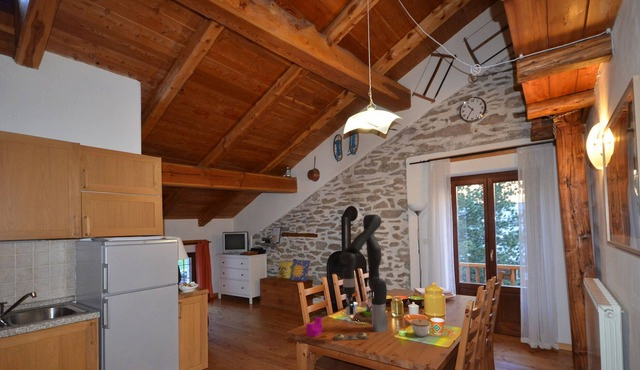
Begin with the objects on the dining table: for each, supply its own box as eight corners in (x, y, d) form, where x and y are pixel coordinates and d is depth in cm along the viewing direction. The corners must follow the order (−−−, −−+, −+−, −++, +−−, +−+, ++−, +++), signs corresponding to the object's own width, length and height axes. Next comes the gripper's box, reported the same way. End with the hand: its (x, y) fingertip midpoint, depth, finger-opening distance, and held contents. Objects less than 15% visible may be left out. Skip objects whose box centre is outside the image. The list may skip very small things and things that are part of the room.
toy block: (315, 337, 220) (315, 325, 220) (306, 336, 223) (306, 324, 223) (325, 329, 234) (324, 318, 234) (316, 328, 236) (316, 317, 237)
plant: (350, 315, 261) (350, 300, 261) (375, 313, 265) (374, 298, 266) (360, 324, 241) (359, 308, 242) (386, 321, 246) (385, 305, 247)
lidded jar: (413, 330, 227) (413, 315, 227) (431, 332, 222) (430, 317, 222) (410, 336, 217) (409, 320, 217) (428, 338, 212) (427, 323, 213)
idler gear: (354, 312, 218) (354, 305, 218) (356, 314, 213) (355, 307, 213) (345, 312, 218) (345, 305, 218) (346, 315, 212) (346, 308, 213)
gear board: (366, 335, 220) (366, 330, 220) (368, 339, 214) (368, 334, 214) (333, 337, 218) (333, 332, 219) (334, 341, 212) (334, 336, 212)
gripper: (357, 287, 211) (358, 315, 210) (353, 282, 225) (354, 308, 224) (344, 288, 210) (346, 316, 209) (341, 283, 224) (342, 308, 224)
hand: (350, 311), depth 217 cm, fingers open, 8 cm apart
